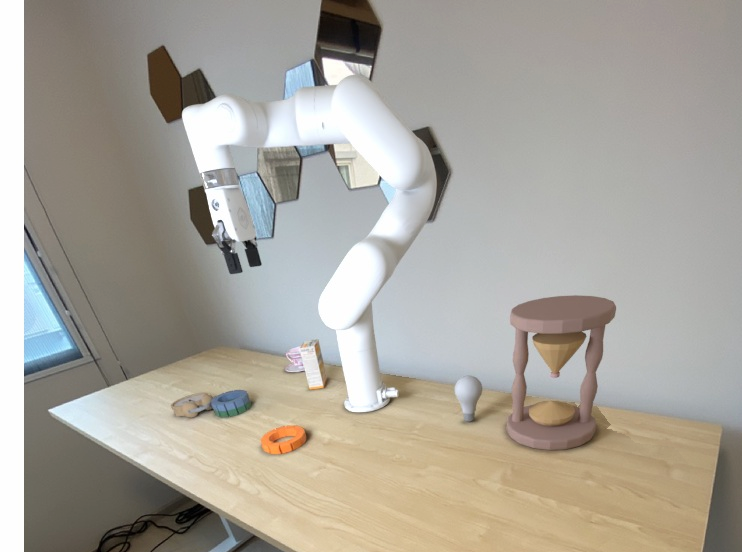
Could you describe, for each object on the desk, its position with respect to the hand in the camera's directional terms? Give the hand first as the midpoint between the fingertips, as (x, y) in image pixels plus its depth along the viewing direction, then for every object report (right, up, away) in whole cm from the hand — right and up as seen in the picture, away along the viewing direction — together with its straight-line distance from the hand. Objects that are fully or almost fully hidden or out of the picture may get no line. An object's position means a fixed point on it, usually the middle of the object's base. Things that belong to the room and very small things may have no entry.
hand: (246, 269), depth 98 cm
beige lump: (-25, -29, +28) cm, 48 cm away
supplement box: (+12, -20, +33) cm, 40 cm away
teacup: (+3, -10, +50) cm, 51 cm away
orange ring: (+9, -41, +2) cm, 42 cm away
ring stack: (-12, -29, +25) cm, 40 cm away
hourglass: (+68, -40, -10) cm, 80 cm away
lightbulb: (+53, -37, -2) cm, 65 cm away
